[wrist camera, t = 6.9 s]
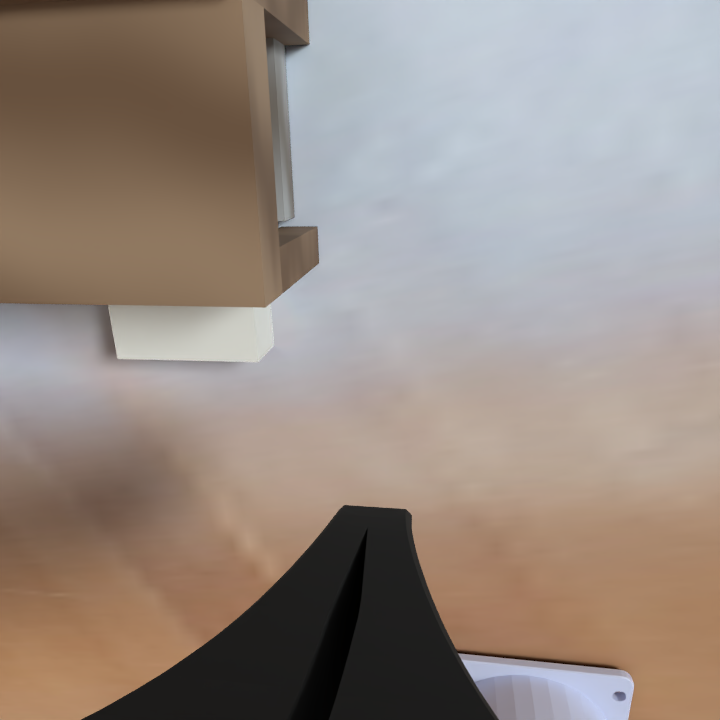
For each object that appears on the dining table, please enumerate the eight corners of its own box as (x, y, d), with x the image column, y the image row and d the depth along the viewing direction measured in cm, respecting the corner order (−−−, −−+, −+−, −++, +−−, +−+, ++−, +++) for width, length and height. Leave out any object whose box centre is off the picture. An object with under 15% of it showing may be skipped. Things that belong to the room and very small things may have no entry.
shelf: (319, 263, 19) (258, 312, 13) (46, 261, 21) (-121, 305, 14) (305, -35, 16) (220, -148, 10) (-9, -13, 18) (-247, -100, 12)
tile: (277, 341, 21) (258, 362, 19) (149, 339, 22) (117, 359, 20) (254, 66, 18) (229, 54, 16) (106, 75, 19) (63, 65, 16)
